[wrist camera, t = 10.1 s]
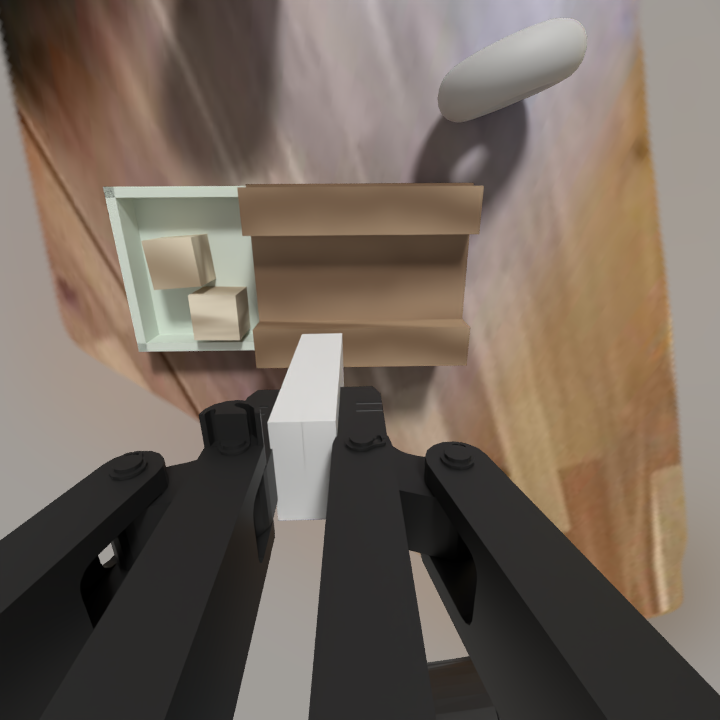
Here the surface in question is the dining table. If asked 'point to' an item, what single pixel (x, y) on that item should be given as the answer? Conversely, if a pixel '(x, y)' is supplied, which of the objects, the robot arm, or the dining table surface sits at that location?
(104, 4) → the dining table surface
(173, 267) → the tan wooden cube
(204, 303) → the beige wooden cube
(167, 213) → the tray
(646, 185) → the dining table surface
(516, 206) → the dining table surface
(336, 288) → the slot board
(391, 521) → the robot arm
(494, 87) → the donut
